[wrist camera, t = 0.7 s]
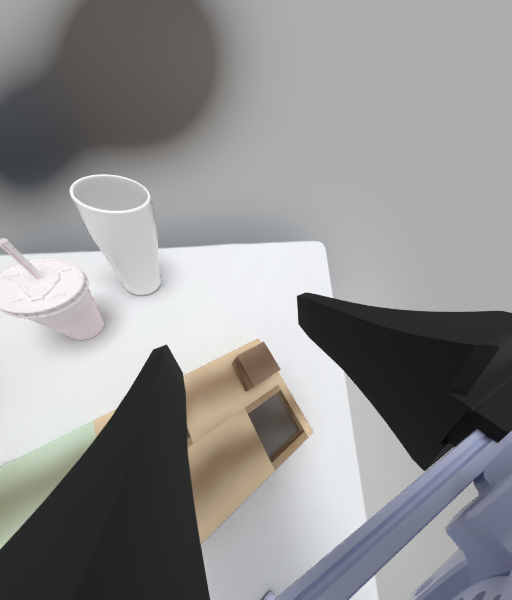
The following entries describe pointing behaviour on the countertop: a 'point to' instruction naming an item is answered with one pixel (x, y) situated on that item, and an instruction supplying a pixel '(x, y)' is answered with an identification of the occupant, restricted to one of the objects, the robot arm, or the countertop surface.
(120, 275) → the drinking glass
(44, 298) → the smoothie
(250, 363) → the block
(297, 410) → the wooden board
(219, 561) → the countertop surface
